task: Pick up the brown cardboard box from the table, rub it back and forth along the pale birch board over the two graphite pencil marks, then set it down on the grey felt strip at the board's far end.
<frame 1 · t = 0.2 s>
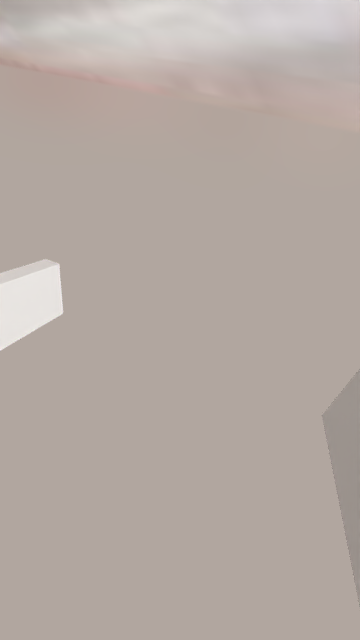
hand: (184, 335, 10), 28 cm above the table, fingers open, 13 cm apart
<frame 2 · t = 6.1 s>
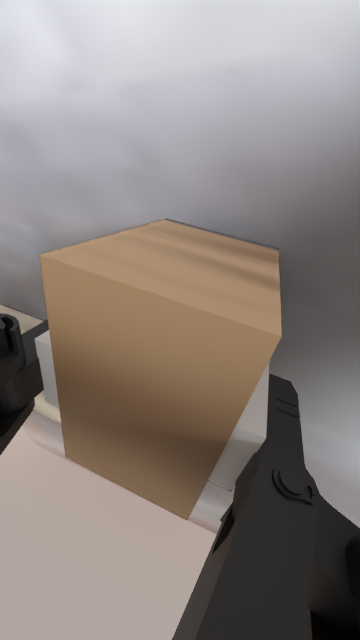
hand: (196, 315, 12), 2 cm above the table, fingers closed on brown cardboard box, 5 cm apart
brown cardboard box: (198, 312, 12), point 1 cm above the table, touching gripper
board: (84, 381, 21), on the table
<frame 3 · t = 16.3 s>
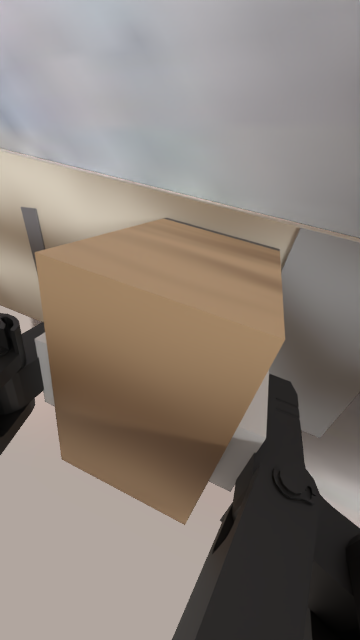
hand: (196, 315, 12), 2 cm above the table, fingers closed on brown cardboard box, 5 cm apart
brown cardboard box: (198, 312, 12), point 2 cm above the table, touching gripper
board: (150, 281, 14), on the table
when the fingers open (2 cm above the table, at t = 17.6 s): brown cardboard box stays where it is, resting on board.
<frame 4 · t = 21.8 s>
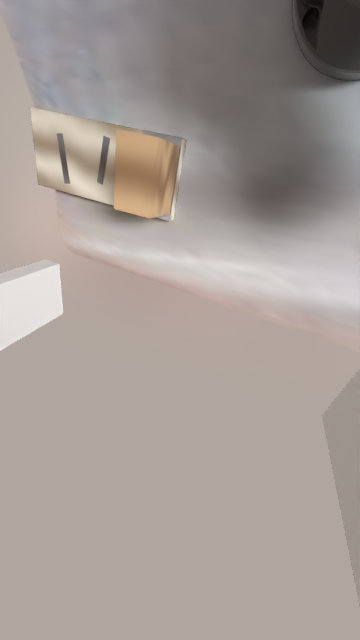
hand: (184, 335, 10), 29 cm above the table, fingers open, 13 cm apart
brown cardboard box: (158, 178, 33), point 2 cm above the table, touching board
board: (106, 165, 37), on the table
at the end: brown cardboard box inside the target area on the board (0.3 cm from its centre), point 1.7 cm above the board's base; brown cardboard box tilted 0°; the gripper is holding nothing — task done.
